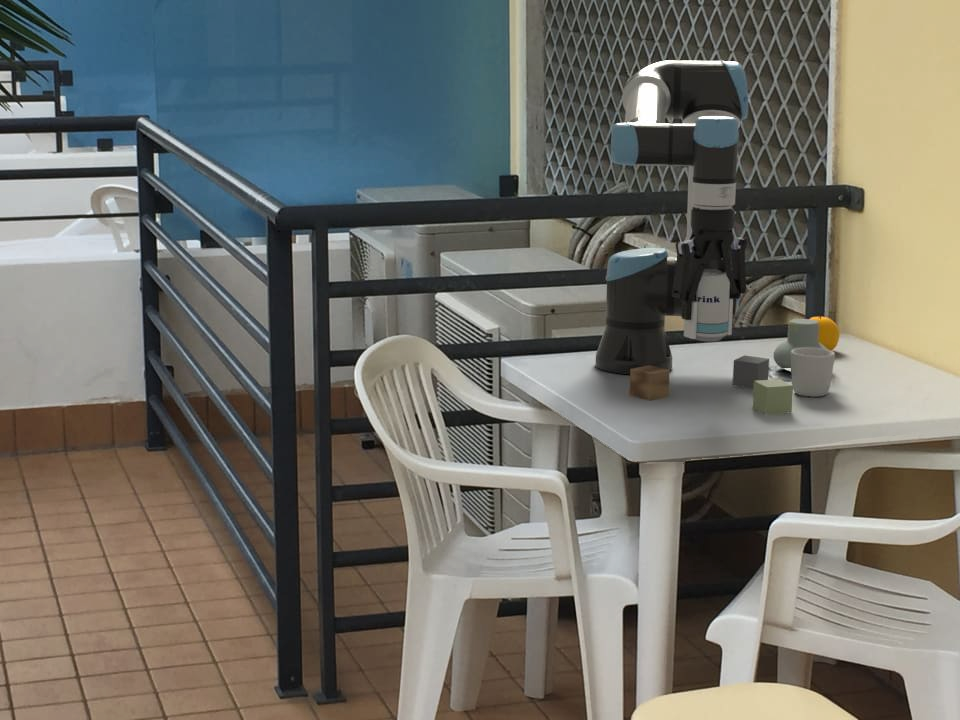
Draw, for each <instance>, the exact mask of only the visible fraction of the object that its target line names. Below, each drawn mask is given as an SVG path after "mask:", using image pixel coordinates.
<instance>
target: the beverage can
mask: <svg viewBox="0 0 960 720" xmlns="http://www.w3.org/2000/svg"><path fill="white" fill-rule="evenodd" d="M729 291H730V281H729V279H728V277H727V275H726V272H721V271H720V270H714V269H704V271H703V274H702V277H701V280H700V282H699V286H698V289H697V292H696V295H695V298H694V300H693V301H694V302H698V304H697V328H696V339H695V340H696V341H699V342H700V341H701V342H720V341H722V339H723V338H725V337H726V336H728V335H727V334H728V313H729Z"/></svg>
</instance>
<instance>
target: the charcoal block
mask: <svg viewBox="0 0 960 720" xmlns="http://www.w3.org/2000/svg"><path fill="white" fill-rule="evenodd" d="M732 366H733V369H732V370H733V371H732V386H733V387H739V388H740V387H741V388H746V389H751V390H753V389H754V381H758V380H769V373H770V371H769V370H770V369H769V368H770V358H766V357H759V356H758V357H757V356H752V355H745V354H744V355H743V356H740V357H738V358H736V359H734V360H733V365H732Z"/></svg>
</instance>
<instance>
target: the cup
mask: <svg viewBox="0 0 960 720" xmlns="http://www.w3.org/2000/svg"><path fill="white" fill-rule="evenodd" d="M835 358H836V352H834V351H833V350H827V349H822V348H812V347H804V348H796V349H793V350H791V372H790V373H791V385H793V393H794V394H796V395H799V396H802V395H803V397H808V396H809V397H810V398H811V397H812V398H817V397H822V396H826V395H827V394H828V393H829V392H830V388H831V381H832V375H833V370H834V365H835Z"/></svg>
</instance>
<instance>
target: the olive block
mask: <svg viewBox="0 0 960 720" xmlns="http://www.w3.org/2000/svg"><path fill="white" fill-rule="evenodd" d="M752 390H753V391H752V409H754V410H756V411H758V412H760V413H762V414H763V415H765V414H769V415H777V414H778V415H779V414H780V415H782V414H788V413H787V412H792V413H793V410H792V409H793V395H794V394H793V393H794V390H793V385H792V383H789V382H786V381H784V380H782V379H781V378H773V379H768V380H758V381H754V389H752ZM781 413H782V414H781Z"/></svg>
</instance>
